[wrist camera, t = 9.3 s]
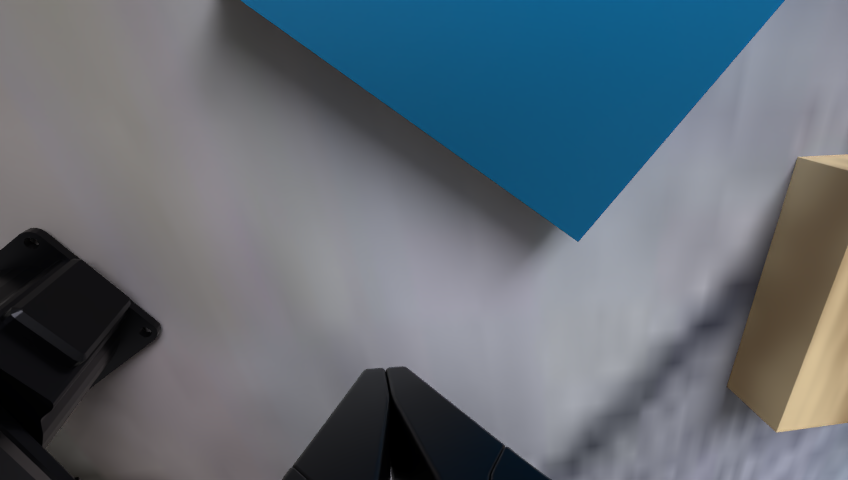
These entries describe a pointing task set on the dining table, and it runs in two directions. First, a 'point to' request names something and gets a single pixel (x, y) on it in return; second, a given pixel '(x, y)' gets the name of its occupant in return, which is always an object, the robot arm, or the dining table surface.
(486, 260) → the dining table surface
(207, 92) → the dining table surface
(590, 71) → the book
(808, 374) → the oak plank
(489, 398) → the dining table surface
